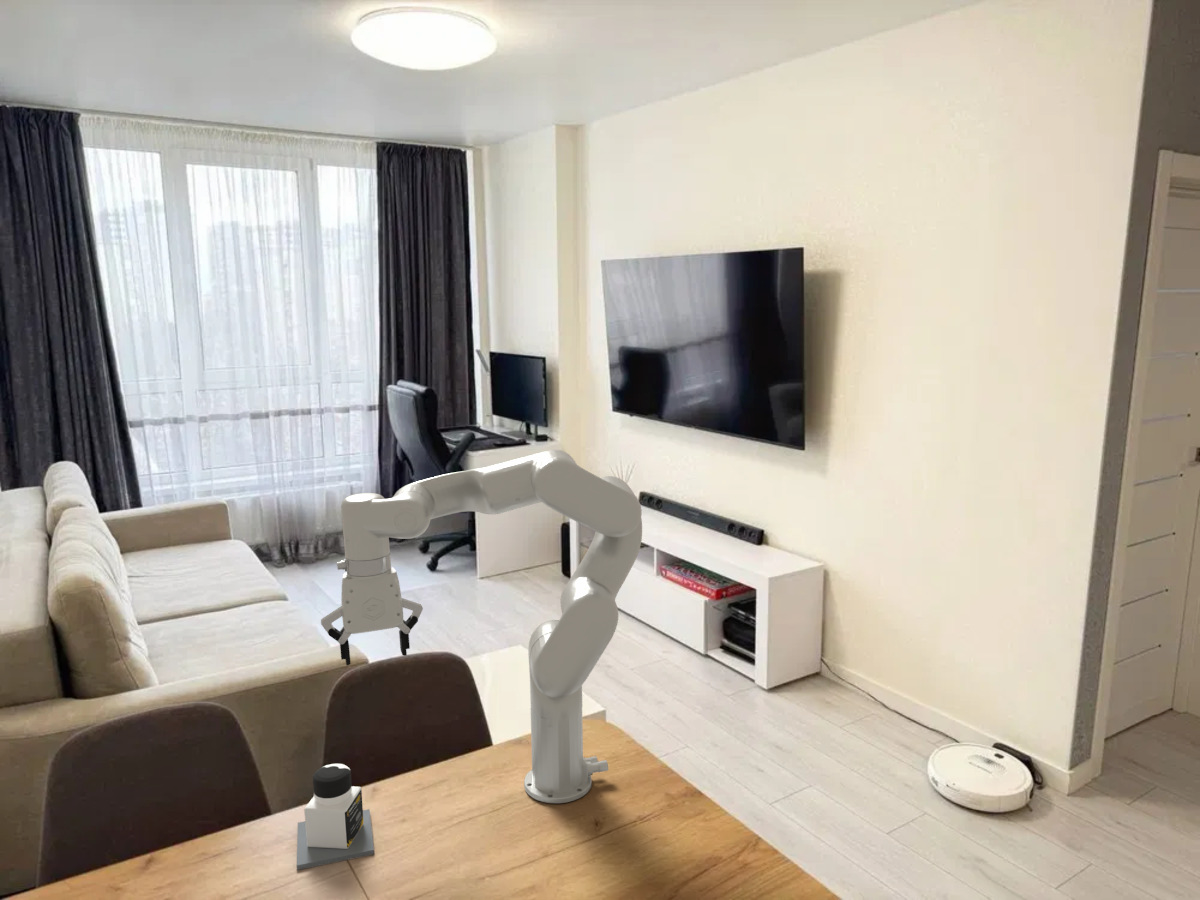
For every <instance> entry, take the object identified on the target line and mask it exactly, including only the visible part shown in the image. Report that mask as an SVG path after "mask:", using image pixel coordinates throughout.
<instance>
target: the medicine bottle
mask: <svg viewBox="0 0 1200 900" xmlns="http://www.w3.org/2000/svg"><path fill="white" fill-rule="evenodd" d="M351 770H352V769H350V767H348V766H347V765H345V764H344V763H331V764H326V765H324V766H322V767H319V768H318V769H317V770H316V771H315V772H314V773H313V775H312V784H313V785H312V787H313V797H311V799H310V801H309V802H308V803H307V804H306V806H305V807H304V821H305V825H306V838H307V846H308V847H319V848H337V849H348V848H349V846H350V845H351V843H352V842H353V840H354V838H355V837H356V835H357V833H358V832H359V830H360V829H361V827H362V825H363V823H364V822H363V810H364V808H363V807H364V806H363V792H362V787H361V786H354V785H353V786H352V773H351Z"/></svg>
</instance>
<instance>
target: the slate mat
mask: <svg viewBox="0 0 1200 900" xmlns="http://www.w3.org/2000/svg"><path fill="white" fill-rule="evenodd" d="M371 820H372V819H371V812H370V808H368V809H363V822H364V823H363V825H362V827H361V829H360V830H359V832H358V833H357V835H356V837H355V838H354V840H353V842H352V843H351V845H350V846H349V848H348V849H337V848H319V847H308V846H307V838H306V825H305V820H304V821H300V822H297V835H296V836H297V838H296V843H297V844H296V871H298V870H299V871H300V870H304V869H309V868H314V867H320V866H323V865H324V866H325V865H329V864H333V863H337V862H343V861H347V860H348V861H349V860H352V859H358V858H362V857H367V856H372V855H375V847H374V839H373V837H374V836H373V831H372V829H373V828H372V821H371Z"/></svg>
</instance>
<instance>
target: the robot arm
mask: <svg viewBox="0 0 1200 900" xmlns="http://www.w3.org/2000/svg"><path fill="white" fill-rule="evenodd" d="M540 503H543V505H545V506H546V507H549V508H550V509H551V510H553V511H555V512H558V513H559V514H560V515H562V516H564V517H566V518H568V519H570V520H573V521H574V522H576V523H579V524H580V525H582V526H585V527H587V528H589V529H591V530H593V531H595V532H594V536H593V538H592V541H591V543H590V545H589V546H588V549H587V551H586V553H585V555H584V556H583V558H582V560H581V562H579V564H578V566H577V568H576V569H575V571H574V572H573V574H572V576H570V579H569V580H568V582H567V583H566V584H565V586H564V588H563V590H562V592H561V595H560V609H561V614H562V615H561V617H560V618H559V620H558V619H549V620H547V621H544V622H542V623H541V624H539V625H538V626H537V627H536V628H535V629H534V631H533V632H532V634H531V635H530V639H529V642H528V648H527V650H528V666H529V667H528V669H529V691H530V692H529V693H530V699H529V700H530V736H531V738H530V739H531V745H530V746H531V770H529V771H528V772H527V774H526V775H525V777H524V781H523V782H524V783H523V786H524V790H525V792H526V794H528V795H529V796H530V797H531V798H533V799H534V800H536V801H539V802H542V803H548V804H564V803H569V802H574V801H576V800H578V799H581V798H582V797H584V796H586V795H587V793H589V791H590V790H591V789H592V776H593V774H595V773H602V772H607V771H609V764H608V763H609V762H608V761H607V760H606V759H605V760H599V761H598V757H597V756H596V755H594V756H589V757H584V751H583V750H584V745H583V744H584V741H583V740H584V739H583V737H584V735H583V733H584V732H583V685H584V683H585V682H586V680H587V679H588V677H589V676H590V674H591V673H592V671H593V670H594V668H595V666H597V663H598V662H599V660H600V659H601V656H602V655H603V653H604V652H605V650H606V649H607V647H608V645H609V644H610V642H611V641H612V639H613V637H614V634H615V632H616V630H617V626H618V623H619V610H618V605H617V603H616V602H617V601H616V598H617V595H618V593H619V591H620V589H621V588H622V587H623V584H624V583H625V581H626V579H627V578H628V575H629V573H630V572H631V570H632V568H633V566H634V564H635V562H636V560H637V557H638V556H639V555H638V554H639V552H640V549H641V545H642V540H643V539H642V538H643V520H642V506H641V503H640V501H639V499H638V497H637V496H636V495H635V493H634V491H633V490H632V488H631V487H630V486H629V484H628V483H627V482H625V481H624V480H623V479H621V478H620V477H617V476H613V475H606V476H603V477H599V476H597V475H595V474H594V473H592V472H590V471H588V470H587V469H584V468H583V467H581V466H580V465H578V464H577V463H576V460H575V459H574V458H573V457H572V456H571V455H570V454H569V453H568V452H566V451H564V450H561V449H549V450H545V451H540V452H537V453H536V452H535V453H533V454H529V455H528V454H527V455H525V456H522V457H519V458H515V459H511V460H508V461H507V460H506V461H504V462H500V463H495V464H491V465H488V466H484V467H483V466H482V467H479V468H471V469H467V470H462V471H456V472H450V473H445V474H441V475H436V476H434V477H429V478H425V479H422V480H418V481H415V482H411V483H409V484H406V485H404V486H402V487H401V488H399V489H398V490H397V491H396V492H395V493H394V495H392V497H390V498H385V497H384V496H383V495H382V494H379V493H373V492H363V493H356V494H351V495H349V496H347V497H345V498H343V499H342V502H341V504H340V508H341V509H340V511H341V512H340V513H341V521H342V532H343V533H342V534H343V545H344V547H343V548H344V558H343V560H341V561H337V562H336V565H337V566H336V567H337V571H338V570H339V571H340V570H342V571H344V573H343V575H342V582H341V597H340V599H341V606H340V607H338V608H336V609H335V610H333V611H331V612H330V613H328V614H327V615H325V616H324V617H322V618H321V619H320V625H321V626H322V627H323V629H324V630H325V632H326V633H327V634H328V636H330V637H331V638H332V639H334V640H335V641H336V642H337V643H338V644H339V649H340V657H341V660H343V661H344V660H345V664H346V666H350V665H351V664H352V663H351V653H350V643H349V637H350V636H351V635H353V634H354V635H357V634H363V633H369V632H376V631H383V630H389V629H394V628H398V629H399V630H398V633H399V647H400V648H399V649H400V652H401V656H407V655H408V654H407V650H409V649H411V647H410V635H409V634H410V633H411V630H412V629H413V628H414V626H415V625H416V624H417V623H418V621H419V618H420V617H421V614H422V613H423V610H424V607H423V605H422V604H421V603H417V602H415V601H412V600H408V599H405V598H403V597H402V592H401V585H400V580H399V577H398V574H397V570H396V569H395V568H394V567H393V566H392V563H391V550H390V539H391V538H392V539H400V540H402V539H403V540H404V539H405V540H409V539H415V538H418V537H420V536H421V535H423V534H424V533H425V532H426V531H427V529H428V528H429V526H430V524H431V520H433V519H437V518H440V517H441V518H442V517H444V516H449V515H452V514H457V513H465V512H474V513H475V512H476V513H480V514H485V515H501V514H503V513H507V512H511V511H514V510H517V509H521V508H524V507H527V506H532V505H534V504H540ZM389 538H390V539H389ZM404 609H407V610H410V611H412V612H411V615H410V616H409V617H408V619H407V620H405V619H404V611H403V610H404ZM340 618H341V619H342V625H343V626H342V628H341V629H340V630H338V629H337V628H336V627H334V626H333V623H334V622H335V621H337V620H338V619H340Z"/></svg>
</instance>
